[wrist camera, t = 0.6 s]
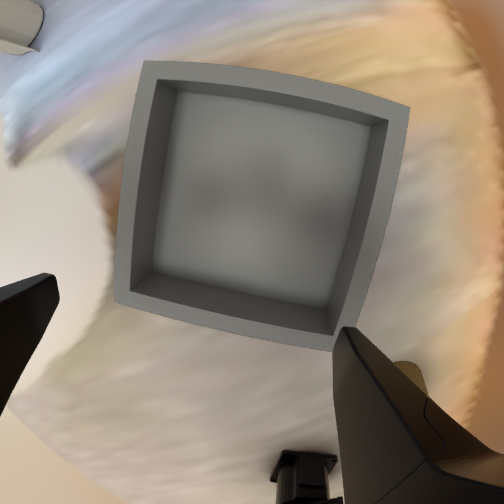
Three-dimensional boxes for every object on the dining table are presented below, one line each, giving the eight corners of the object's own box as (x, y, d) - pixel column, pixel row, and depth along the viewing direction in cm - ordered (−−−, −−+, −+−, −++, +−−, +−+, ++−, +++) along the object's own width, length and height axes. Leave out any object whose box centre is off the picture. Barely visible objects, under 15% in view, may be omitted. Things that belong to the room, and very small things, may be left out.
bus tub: (335, 319, 25) (344, 354, 20) (142, 277, 25) (114, 302, 20) (385, 117, 20) (410, 107, 15) (170, 78, 21) (143, 60, 16)
